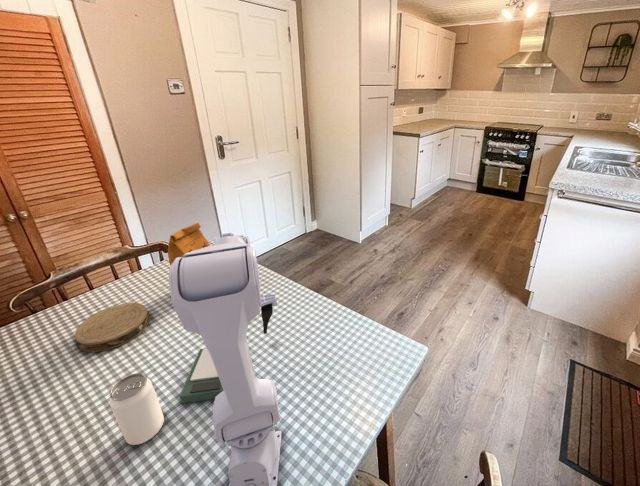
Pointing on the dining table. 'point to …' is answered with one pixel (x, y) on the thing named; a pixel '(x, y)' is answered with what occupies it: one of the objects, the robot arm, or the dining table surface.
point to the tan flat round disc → (112, 327)
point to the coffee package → (186, 242)
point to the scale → (201, 380)
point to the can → (136, 408)
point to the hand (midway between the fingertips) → (248, 334)
